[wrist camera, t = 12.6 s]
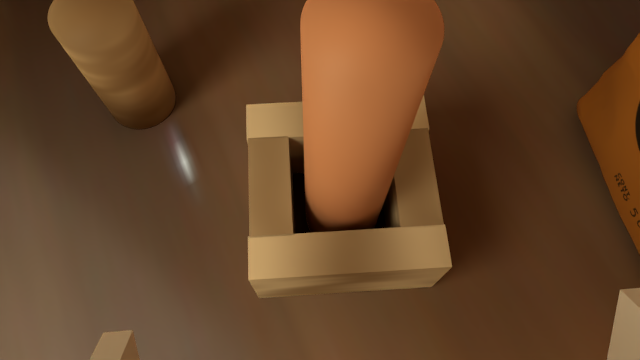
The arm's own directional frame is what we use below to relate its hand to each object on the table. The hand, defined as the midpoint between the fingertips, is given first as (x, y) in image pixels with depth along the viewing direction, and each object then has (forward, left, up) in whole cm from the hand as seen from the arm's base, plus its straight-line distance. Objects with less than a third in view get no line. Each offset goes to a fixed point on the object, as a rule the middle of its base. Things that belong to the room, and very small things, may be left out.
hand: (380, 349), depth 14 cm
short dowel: (-10, +14, -9) cm, 20 cm away
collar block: (0, +7, -9) cm, 12 cm away
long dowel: (0, +7, -9) cm, 12 cm away
